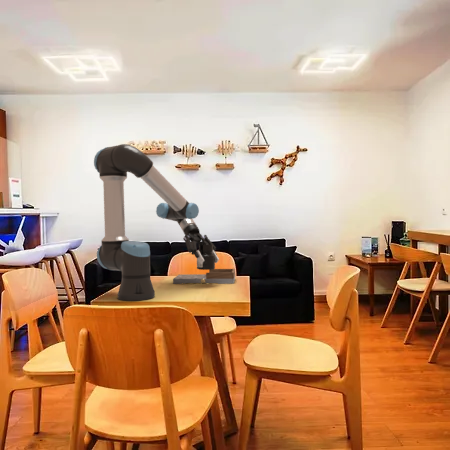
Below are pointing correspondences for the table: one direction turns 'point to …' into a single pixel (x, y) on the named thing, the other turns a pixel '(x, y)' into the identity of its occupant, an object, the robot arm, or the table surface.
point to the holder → (221, 274)
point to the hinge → (200, 279)
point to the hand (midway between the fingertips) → (210, 261)
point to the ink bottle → (206, 257)
